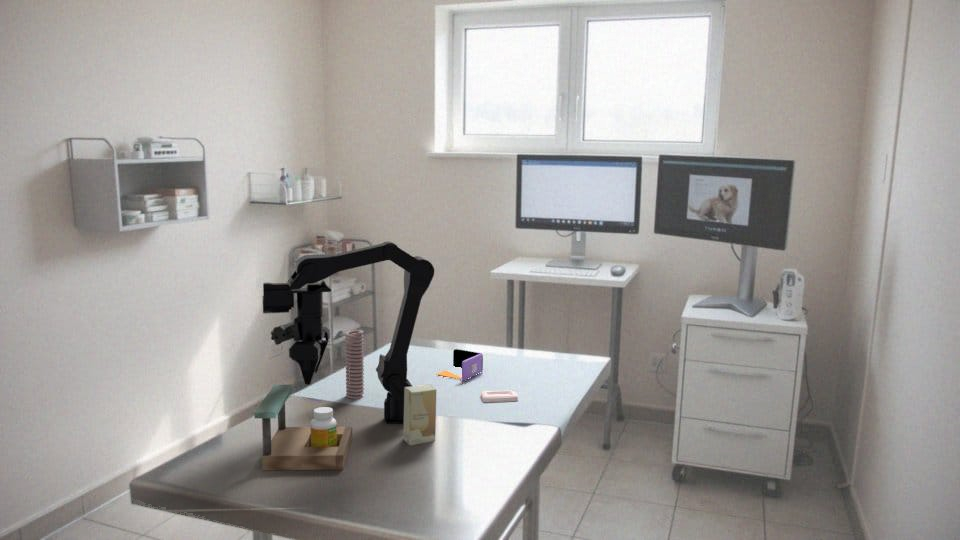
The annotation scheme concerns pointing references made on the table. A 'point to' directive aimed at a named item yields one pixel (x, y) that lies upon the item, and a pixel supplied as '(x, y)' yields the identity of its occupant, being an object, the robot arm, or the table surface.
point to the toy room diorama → (465, 364)
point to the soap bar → (499, 396)
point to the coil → (354, 364)
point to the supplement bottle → (323, 428)
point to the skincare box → (419, 414)
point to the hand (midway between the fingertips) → (311, 378)
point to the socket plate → (296, 439)
